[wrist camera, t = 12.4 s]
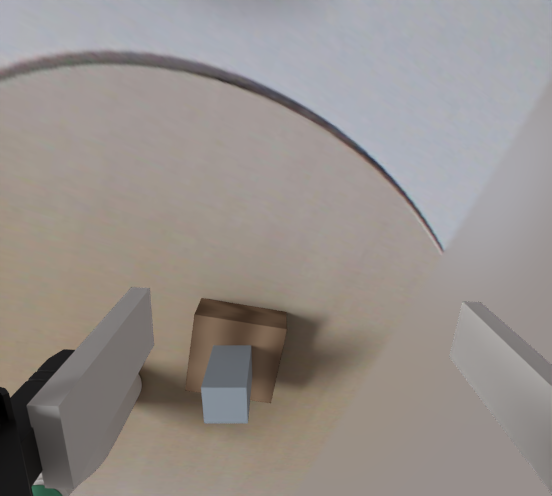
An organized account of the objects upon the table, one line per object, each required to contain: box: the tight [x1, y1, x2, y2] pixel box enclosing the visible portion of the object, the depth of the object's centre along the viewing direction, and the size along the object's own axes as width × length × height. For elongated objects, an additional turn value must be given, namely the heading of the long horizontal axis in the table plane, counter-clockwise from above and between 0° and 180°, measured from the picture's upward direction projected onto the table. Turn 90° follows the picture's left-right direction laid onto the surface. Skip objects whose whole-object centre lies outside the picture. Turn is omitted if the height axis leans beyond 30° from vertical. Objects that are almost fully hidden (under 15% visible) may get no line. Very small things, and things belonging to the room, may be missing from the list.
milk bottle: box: [32, 374, 142, 496], centre depth 45 cm, size 8×8×20 cm
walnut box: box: [185, 298, 287, 403], centre depth 50 cm, size 12×12×5 cm
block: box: [201, 345, 252, 423], centre depth 44 cm, size 5×5×8 cm
